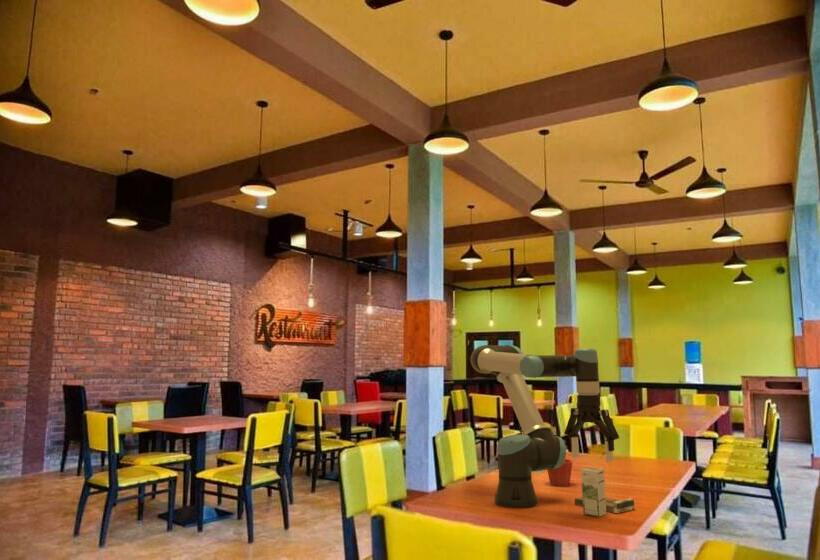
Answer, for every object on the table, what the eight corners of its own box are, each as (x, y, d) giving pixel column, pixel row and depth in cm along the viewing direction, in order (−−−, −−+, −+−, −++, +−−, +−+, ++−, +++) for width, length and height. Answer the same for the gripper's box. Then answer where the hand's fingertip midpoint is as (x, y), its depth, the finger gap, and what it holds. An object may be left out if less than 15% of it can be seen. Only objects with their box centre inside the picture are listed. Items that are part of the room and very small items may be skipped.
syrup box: (607, 514, 193) (604, 468, 195) (599, 517, 188) (596, 470, 190) (590, 511, 196) (588, 466, 198) (582, 514, 192) (580, 469, 194)
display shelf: (617, 513, 192) (616, 502, 193) (575, 504, 206) (574, 494, 207) (635, 509, 198) (634, 498, 199) (592, 500, 212) (592, 490, 212)
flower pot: (570, 481, 247) (569, 458, 248) (575, 487, 236) (574, 462, 237) (545, 481, 248) (544, 458, 249) (548, 486, 237) (547, 462, 238)
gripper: (627, 394, 190) (632, 462, 187) (566, 393, 210) (569, 454, 207) (613, 395, 186) (617, 464, 183) (552, 393, 206) (555, 456, 203)
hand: (592, 459), depth 195 cm, fingers open, 13 cm apart
